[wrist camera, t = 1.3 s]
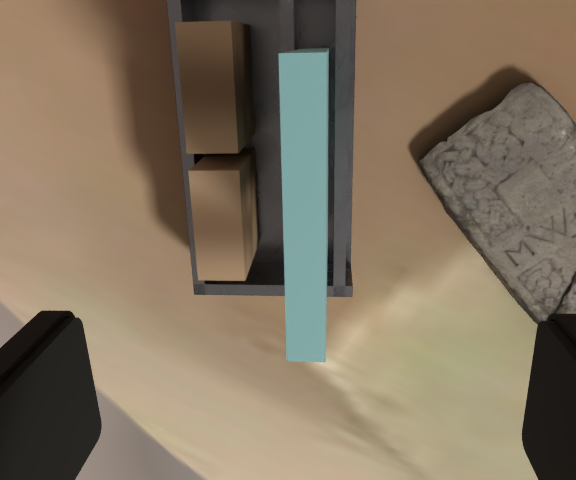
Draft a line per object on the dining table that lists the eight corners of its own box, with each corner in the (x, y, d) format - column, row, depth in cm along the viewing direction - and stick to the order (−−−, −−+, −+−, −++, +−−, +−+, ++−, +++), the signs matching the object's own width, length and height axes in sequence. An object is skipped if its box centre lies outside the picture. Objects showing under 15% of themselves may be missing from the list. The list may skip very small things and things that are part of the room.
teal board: (304, 48, 34) (278, 53, 18) (328, 47, 34) (326, 52, 17) (306, 222, 39) (286, 361, 22) (328, 222, 38) (325, 362, 22)
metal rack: (187, -15, 35) (164, -23, 30) (356, -20, 34) (359, -30, 29) (209, 266, 42) (194, 294, 37) (349, 267, 41) (352, 296, 36)
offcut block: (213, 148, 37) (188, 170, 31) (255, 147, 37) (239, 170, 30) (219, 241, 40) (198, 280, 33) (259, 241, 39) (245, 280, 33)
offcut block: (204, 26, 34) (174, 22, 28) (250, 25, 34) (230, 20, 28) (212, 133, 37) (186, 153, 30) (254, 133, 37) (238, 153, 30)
